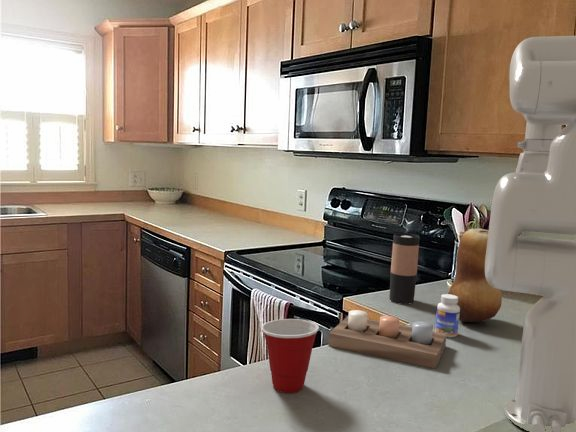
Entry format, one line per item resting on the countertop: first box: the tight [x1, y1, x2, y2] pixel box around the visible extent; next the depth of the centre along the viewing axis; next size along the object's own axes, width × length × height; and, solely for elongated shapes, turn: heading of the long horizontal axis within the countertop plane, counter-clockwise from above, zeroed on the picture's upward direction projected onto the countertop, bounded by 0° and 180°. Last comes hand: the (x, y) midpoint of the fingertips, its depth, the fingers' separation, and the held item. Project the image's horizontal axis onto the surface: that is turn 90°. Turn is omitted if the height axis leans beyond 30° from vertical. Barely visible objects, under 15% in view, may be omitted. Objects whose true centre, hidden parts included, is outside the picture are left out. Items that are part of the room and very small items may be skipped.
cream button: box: [348, 309, 368, 332], centre depth 122 cm, size 4×4×4 cm
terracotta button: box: [379, 315, 400, 339], centre depth 119 cm, size 4×4×4 cm
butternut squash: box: [447, 227, 503, 324], centre depth 138 cm, size 14×13×25 cm
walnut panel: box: [328, 315, 447, 369], centre depth 119 cm, size 14×24×3 cm, turn 65°
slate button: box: [411, 321, 434, 345], centre depth 116 cm, size 4×4×4 cm
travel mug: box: [389, 232, 420, 305], centre depth 154 cm, size 8×8×20 cm
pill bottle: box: [434, 293, 460, 338], centre depth 128 cm, size 5×5×10 cm
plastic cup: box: [260, 318, 320, 394], centre depth 97 cm, size 11×11×12 cm
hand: (533, 219), depth 125 cm, fingers open, 9 cm apart
